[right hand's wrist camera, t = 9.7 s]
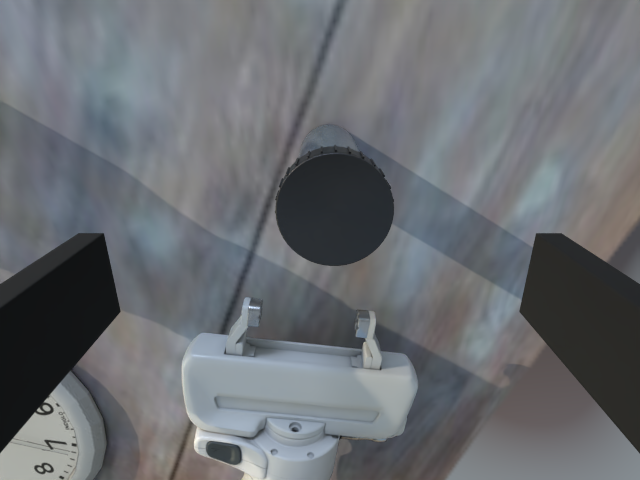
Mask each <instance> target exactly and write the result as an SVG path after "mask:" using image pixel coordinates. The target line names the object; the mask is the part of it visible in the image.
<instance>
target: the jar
mask: <svg viewBox="0 0 640 480" xmlns="http://www.w3.org/2000/svg"><path fill="white" fill-rule="evenodd" d="M334 145H336V146H339V147H346V148H347V147H350V149H353V150H356V151H358V152H360V150H359V148H358V146H357V144H356V142H355V140H354V139H353V137H352V136H351V134H350V133H349V132H348V131H346V130H345V129H343V128H341V127H339V126H336V125H323V126H319V127H317V128H315V129H313V130H312V131H311V132H310V133H309V134H308V135H307V136H306V137H305V139H304V141H303V143H302V146H301V149H300V153H299V157H298V158H300V157H302V156H303V155H305V154H307V153H308V151H309V150H310V152H311V151H313V150H315V149H319V148H320V147H321V146H323V147H328V146H334Z"/></svg>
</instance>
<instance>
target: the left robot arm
mask: <svg viewBox="0 0 640 480" xmlns="http://www.w3.org/2000/svg"><path fill="white" fill-rule="evenodd" d="M262 303H263V299H257V298H248V297H245V299H244V302H243V307H242V315H241V316H240V318H239V319H238V320H237V321H236V323H235V324H234V325H233V326H232V327H231V330H230V333H229V335H222V334H212V333H200V334H199V335H198V336H196V337H195V338H194V339H193V340H192V341H191V343H190V344H189V346H188V348H187V350H186V353H185V355H184V358H183V361H182V387H183V395H184V401H185V407H186V411H187V414H188V416H189V418H190V420H191V421H192V422H193V423H194V424H195V425H196V426H197V429H196V435H195V440H194V449H195V451H196V452H197V453H198V454H200V455H202V456H205V457H208V458H211V459H214V460H217V461H220V462H223V463H225V464H228V465H230V466H233V467H235V468H237V469H239V470H241V471H243V472H245V474H244V476H243V478H242V479H241V480H330V478H331V475H332V472H333V469H334V464H335V459H336V454H337V449H338V443H339V439H340V438H341V439H351V440H372V441H374V442H385V441H387V438H393V437H396V436H399V435H401V434H402V433H403V432H404V429H405V426H406V422H407V418H408V413H409V411H410V409H411V406H412V404H413V402H414V399H415V396H416V393H417V390H418V379H417V375H416V372H415V369H414V366H413V364H412V363H411V361H410V360H409V358H408V357H407V356H406V355H405V354H402V353H394V352H384V351H381V350H380V345H379V342H378V340H377V337H376V335H375V333H374V331H375V326H376V316H375V312H374V311H366V310H357V311H356V318H355V322H354V329H355V336H356V337H359V338H365V340H366V342H364V343H363V347H362V349H356V348H346V347H336V346H327V345H317V344H308V343H298V342H288V341H279V340H269V339H260V338H250V337H247V330H246V329H247V328H248V327H249V326H255V327H259V323H260V319H261V315H262Z"/></svg>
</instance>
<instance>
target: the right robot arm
mask: <svg viewBox="0 0 640 480" xmlns="http://www.w3.org/2000/svg"><path fill="white" fill-rule="evenodd" d="M120 312H121V311H120V307H119V302H118V297H117V293H116V288H115V283H114V279H113V274H112V269H111V265H110V260H109V255H108V251H107V246H106V241H105V237H104V233H78V234H77V235H75V236H74V237H72V238H71V239H69V240H68V241H66V242H65V243H63V244H61V245H60V246H58V247H57V248H55V249H54V250H52V251H51V252H49V253H48V254H46V255H45V256H43V257H41V258H40V259H38V260H37V261H35V262H34V263H32V264H31V265H29V266H28V267H26V268H25V269H23V270H21V271H20V272H18V273H17V274H15V275H14V276H12V277H11V278H9V279H8V280H6V281H4V282H3V283H1V284H0V453H1V452H2V451H3V449H4V448H5V447H6V446H7V445H8V444H9V442H10V441H11V440H12V439H13V438H14V437H15V435H16V434H17V433H18V432H19V431H20V429H21V428H22V427H23V426H24V425H25V424H26V422H27V421H28V420H29V419H30V418H31V417H32V415H33V414H34V413H35V412H36V411H37V409H38V408H39V407H40V406H41V405H42V404H43V402H44V401H45V400H46V399H47V398H48V396H49V395H50V394H51V393H52V392H53V391H54V389H55V388H56V387H57V386H58V385H59V384H60V382H61V381H62V380H63V379H64V378H65V376H66V375H67V374H68V373H69V372H70V371H71V369H72V368H73V367H74V366H75V365H76V364H77V362H78V361H79V360H80V359H81V358H82V356H83V355H84V354H85V353H86V352H87V351H88V349H89V348H90V347H91V346H92V345H93V343H94V342H95V341H96V340H97V339H98V338H99V336H100V335H101V334H102V333H103V332H104V331H105V329H106V328H107V327H108V326H109V325H110V323H111V322H112V321H113V320H114V319H115V318H116V316H117V315H118V314H119V313H120ZM519 312H520V313H521V314H522V315H523V316H524V318H525V319H526V320H527V321H528V322H529V323H530V325H531V326H532V327H533V328H534V329H535V331H536V332H537V333H538V334H539V335H540V336H541V338H542V339H543V340H544V341H545V342H546V343H547V345H548V346H549V347H550V348H551V349H552V351H553V352H554V353H555V354H556V355H557V356H558V358H559V359H560V360H561V361H562V362H563V364H564V365H565V366H566V367H567V368H568V369H569V371H570V372H571V373H572V374H573V375H574V376H575V378H576V379H577V380H578V381H579V382H580V384H581V385H582V386H583V387H584V388H585V389H586V391H587V392H588V393H589V394H590V395H591V396H592V398H593V399H594V400H595V401H596V402H597V404H598V405H599V406H600V407H601V408H602V409H603V411H604V412H605V413H606V414H607V415H608V417H609V418H610V419H611V420H612V421H613V422H614V424H615V425H616V426H617V427H618V428H619V429H620V431H621V432H622V433H623V434H624V435H625V437H626V438H627V439H628V440H629V441H630V442H631V444H632V445H633V446H634V447H635V448H636V449H637V451H638V452H639V453H640V284H639V283H637V282H636V281H634V280H632V279H631V278H629V277H628V276H626V275H625V274H623V273H622V272H620V271H619V270H617V269H615V268H614V267H612V266H611V265H609V264H608V263H606V262H605V261H603V260H602V259H600V258H599V257H597V256H595V255H594V254H592V253H591V252H589V251H588V250H586V249H585V248H583V247H582V246H580V245H579V244H577V243H575V242H574V241H572V240H571V239H569V238H568V237H566V236H565V235H563V234H562V233H536V237H535V241H534V246H533V251H532V255H531V260H530V265H529V269H528V274H527V279H526V283H525V288H524V293H523V297H522V302H521V307H520V311H519Z"/></svg>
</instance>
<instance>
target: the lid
mask: <svg viewBox="0 0 640 480" xmlns="http://www.w3.org/2000/svg"><path fill="white" fill-rule="evenodd" d="M384 177H385V175H384V173H383V172H382V170H381V169H378V167H377V166H376V164H375V163H374V161H373V160H372V159H369V158H368V157H366V156H365V155H363V153H362V152H361V151H360V152H358V151H356V150H353V149H350V147H347V148H346V147H339V146H336V145H334V146H328V147H323V146H321V147H320V148H319V149H315V150H313V151H311V152H310V150H309V151H308V153H307V154H305V155H303V156H302V157H300V158H297V159H296V162H295V163H294V164H293V165H292V166H291V167H288V169H287V172H286V175H285V177H284V179H283V178H282V180H281V182H280V185H279V187H280V190H278V193H277V196H276V199H275V200H276V210H275V213H276V220H277V225H278V227H279V230H280V233H281V235H282V236H283V238H284V240H285V241H286V243H287V244H288V245H289V246H290V247H291V248H292V249H293V250H294V251H295V252H296V253H297V254H299V255H300V256H302V257H303V258H305V259H307V260H309V261H311V262H314V263H317V264H322V265H328V266H340V265H347V264H351V263H354V262H357V261H359V260H361V259H363V258H365V257H367V256H368V255H369V254H371V253H372V252H373V251H375V250H376V249H377V248H378V247H379V246H380V244H381V243H382V242H383V241H384V239H385V238H386V236H387V234H388V232H389V230H390V227H391V224H392V220H393V215H394V203H393V202H394V199H393V197H392V193H391V190H390V189H391V187H390V185H389V183H388V182H387V180H385V178H384Z"/></svg>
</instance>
